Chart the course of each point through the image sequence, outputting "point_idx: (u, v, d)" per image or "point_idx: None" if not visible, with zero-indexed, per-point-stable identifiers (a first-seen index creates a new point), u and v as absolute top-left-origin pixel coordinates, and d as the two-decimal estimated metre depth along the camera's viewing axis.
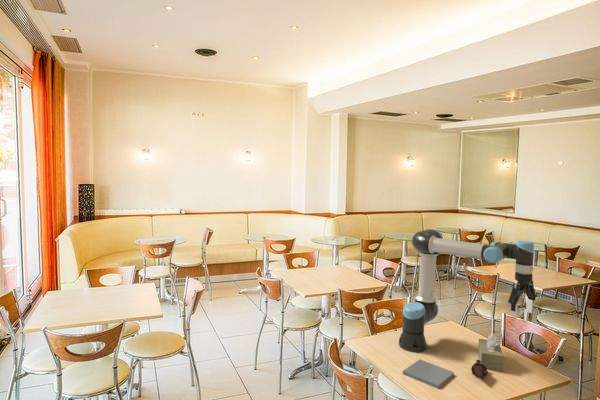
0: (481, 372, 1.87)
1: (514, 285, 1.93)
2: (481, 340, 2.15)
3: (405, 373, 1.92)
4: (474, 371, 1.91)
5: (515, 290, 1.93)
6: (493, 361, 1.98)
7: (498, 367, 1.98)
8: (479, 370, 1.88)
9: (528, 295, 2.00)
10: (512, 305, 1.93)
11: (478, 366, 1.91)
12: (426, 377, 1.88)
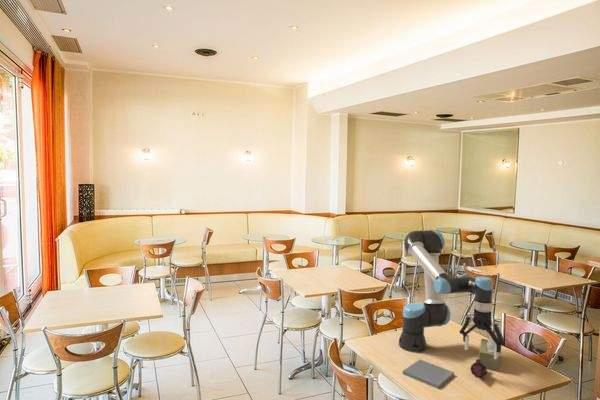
0: (480, 371, 1.87)
1: None
2: (483, 340, 2.15)
3: (405, 373, 1.92)
4: (473, 370, 1.92)
5: (466, 322, 1.95)
6: (491, 361, 1.99)
7: (496, 367, 1.98)
8: (478, 369, 1.89)
9: None
10: None
11: (477, 365, 1.91)
12: (426, 377, 1.88)
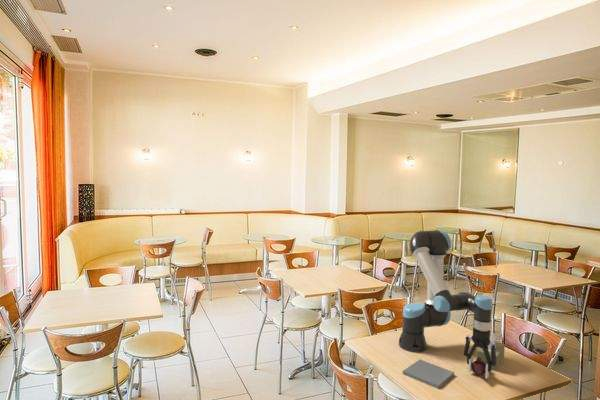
0: (481, 370, 1.88)
1: None
2: None
3: (405, 373, 1.92)
4: (474, 368, 1.92)
5: None
6: None
7: (492, 367, 1.98)
8: (479, 367, 1.89)
9: None
10: None
11: (478, 363, 1.92)
12: (426, 377, 1.88)
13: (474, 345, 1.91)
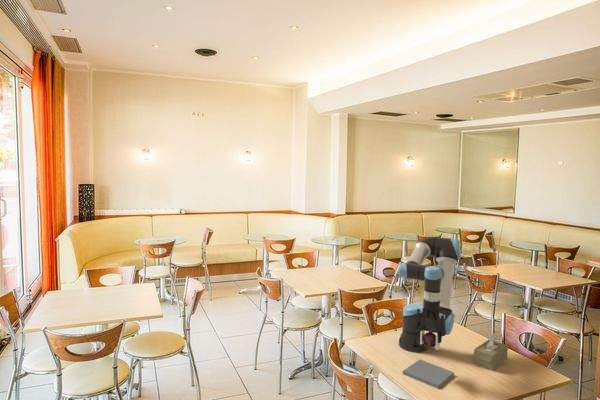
0: (431, 340, 1.87)
1: None
2: (489, 341, 2.14)
3: (405, 373, 1.92)
4: (425, 340, 1.92)
5: None
6: (484, 359, 2.00)
7: (489, 366, 1.99)
8: (429, 339, 1.89)
9: None
10: None
11: (429, 335, 1.91)
12: (426, 377, 1.88)
13: (425, 316, 1.91)
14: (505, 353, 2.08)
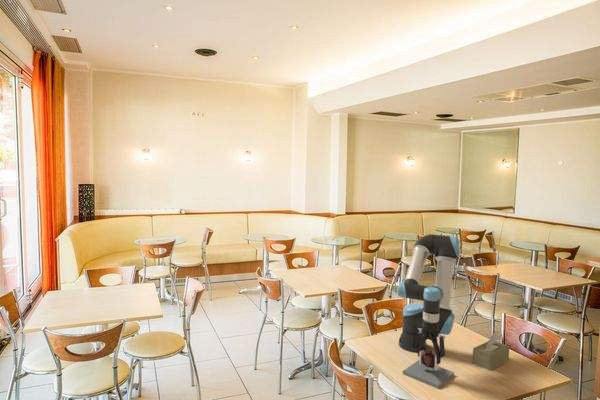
0: (430, 361, 1.88)
1: None
2: None
3: (405, 373, 1.92)
4: (424, 361, 1.92)
5: None
6: (482, 358, 2.01)
7: (487, 365, 1.99)
8: (428, 359, 1.89)
9: None
10: None
11: (428, 356, 1.92)
12: (426, 377, 1.88)
13: (424, 337, 1.92)
14: (506, 354, 2.07)
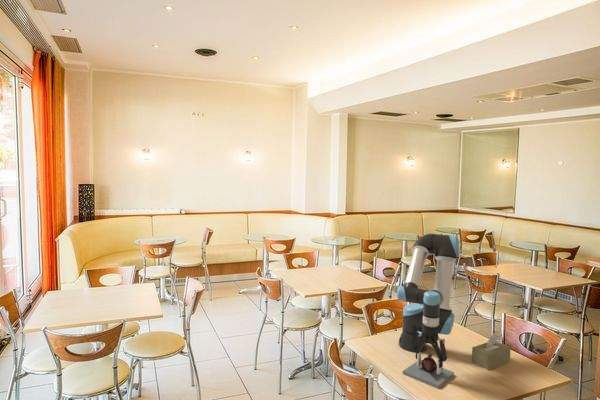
0: (429, 366, 1.89)
1: None
2: None
3: (405, 373, 1.92)
4: (424, 365, 1.93)
5: None
6: (481, 358, 2.02)
7: (485, 365, 2.00)
8: (428, 364, 1.90)
9: None
10: None
11: (428, 360, 1.92)
12: (426, 377, 1.88)
13: (423, 341, 1.92)
14: (507, 354, 2.06)
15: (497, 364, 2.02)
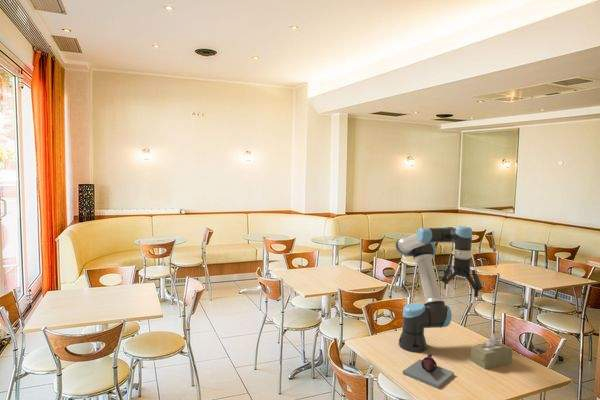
0: (429, 366, 1.89)
1: None
2: None
3: (405, 373, 1.92)
4: (424, 365, 1.93)
5: None
6: (478, 356, 2.03)
7: (482, 364, 2.01)
8: (428, 364, 1.90)
9: None
10: None
11: (427, 360, 1.93)
12: (426, 377, 1.88)
13: (454, 273, 2.00)
14: (508, 356, 2.05)
15: (496, 364, 2.02)
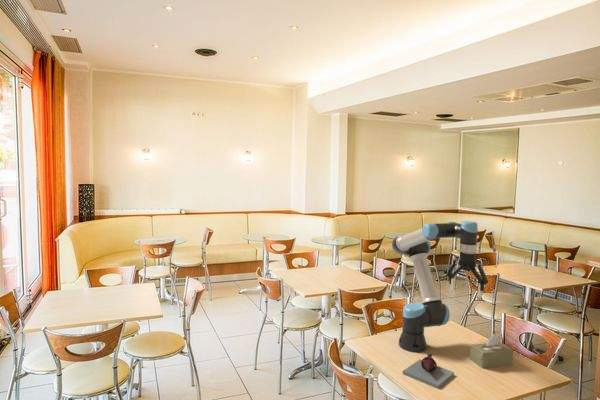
0: (429, 366, 1.89)
1: None
2: (497, 343, 2.12)
3: (405, 373, 1.92)
4: (423, 365, 1.93)
5: None
6: (476, 355, 2.04)
7: (480, 363, 2.02)
8: (427, 364, 1.90)
9: None
10: None
11: (427, 360, 1.93)
12: (426, 377, 1.88)
13: (460, 267, 2.02)
14: (508, 357, 2.04)
15: (494, 364, 2.02)
